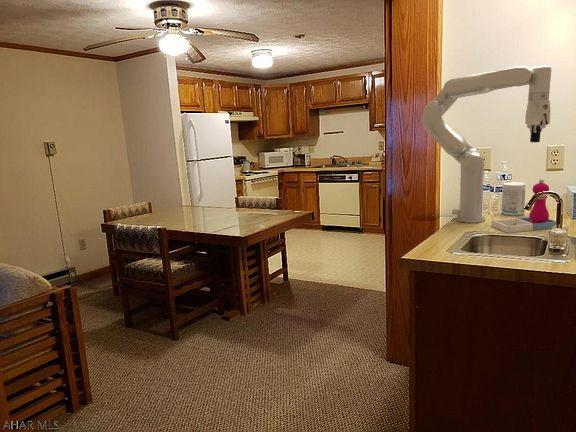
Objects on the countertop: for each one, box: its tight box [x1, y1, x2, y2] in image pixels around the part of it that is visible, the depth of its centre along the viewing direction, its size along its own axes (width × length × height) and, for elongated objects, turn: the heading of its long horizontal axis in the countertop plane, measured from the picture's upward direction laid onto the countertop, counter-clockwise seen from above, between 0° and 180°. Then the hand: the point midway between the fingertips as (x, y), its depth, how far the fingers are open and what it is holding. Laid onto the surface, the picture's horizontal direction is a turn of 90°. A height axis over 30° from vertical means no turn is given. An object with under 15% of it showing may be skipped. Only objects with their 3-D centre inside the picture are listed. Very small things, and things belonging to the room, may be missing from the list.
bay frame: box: [490, 216, 557, 234], centre depth 179 cm, size 22×12×2 cm, turn 96°
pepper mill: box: [528, 178, 550, 224], centre depth 177 cm, size 7×7×20 cm
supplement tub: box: [501, 181, 526, 217], centre depth 201 cm, size 10×10×15 cm
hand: (534, 142), depth 179 cm, fingers closed
